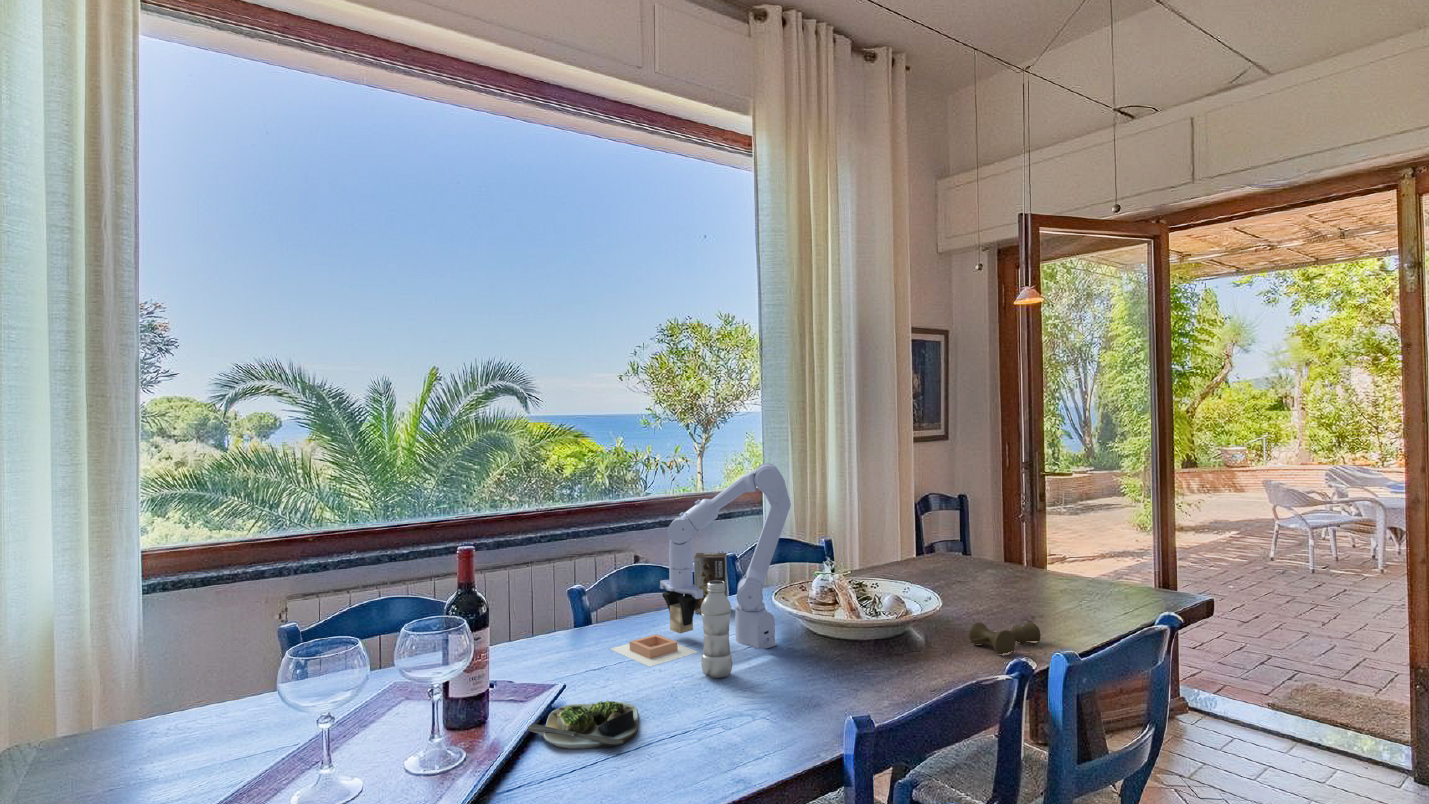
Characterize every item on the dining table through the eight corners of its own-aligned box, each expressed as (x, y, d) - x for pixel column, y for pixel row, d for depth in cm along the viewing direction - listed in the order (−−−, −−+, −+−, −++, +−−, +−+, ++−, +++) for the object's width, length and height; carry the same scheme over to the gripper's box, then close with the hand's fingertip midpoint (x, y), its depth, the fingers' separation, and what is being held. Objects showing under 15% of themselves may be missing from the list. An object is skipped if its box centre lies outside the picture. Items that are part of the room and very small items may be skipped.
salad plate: (519, 760, 114) (519, 731, 114) (536, 713, 132) (536, 689, 132) (637, 753, 116) (637, 725, 116) (638, 708, 134) (638, 684, 134)
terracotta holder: (677, 650, 163) (677, 641, 163) (649, 658, 157) (649, 649, 157) (656, 642, 169) (656, 634, 169) (629, 650, 163) (629, 641, 163)
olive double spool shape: (1050, 650, 166) (986, 660, 158) (1018, 639, 174) (955, 648, 166) (1050, 625, 166) (985, 633, 158) (1018, 615, 175) (955, 623, 167)
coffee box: (728, 608, 202) (727, 552, 202) (726, 614, 195) (725, 556, 196) (696, 607, 203) (696, 552, 203) (694, 613, 196) (693, 556, 196)
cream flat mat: (698, 656, 162) (698, 651, 162) (649, 671, 152) (649, 666, 152) (656, 639, 173) (656, 635, 174) (609, 652, 164) (609, 648, 164)
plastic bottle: (729, 682, 145) (729, 586, 146) (698, 680, 147) (697, 585, 147) (735, 671, 152) (734, 579, 152) (704, 669, 153) (704, 578, 153)
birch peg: (693, 629, 171) (692, 605, 171) (680, 633, 168) (680, 608, 168) (682, 626, 174) (682, 602, 174) (670, 629, 171) (669, 605, 171)
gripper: (650, 565, 174) (650, 619, 174) (687, 574, 163) (687, 632, 163) (672, 560, 179) (672, 614, 179) (709, 569, 168) (710, 626, 168)
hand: (681, 622), depth 171 cm, fingers closed on birch peg, 4 cm apart
